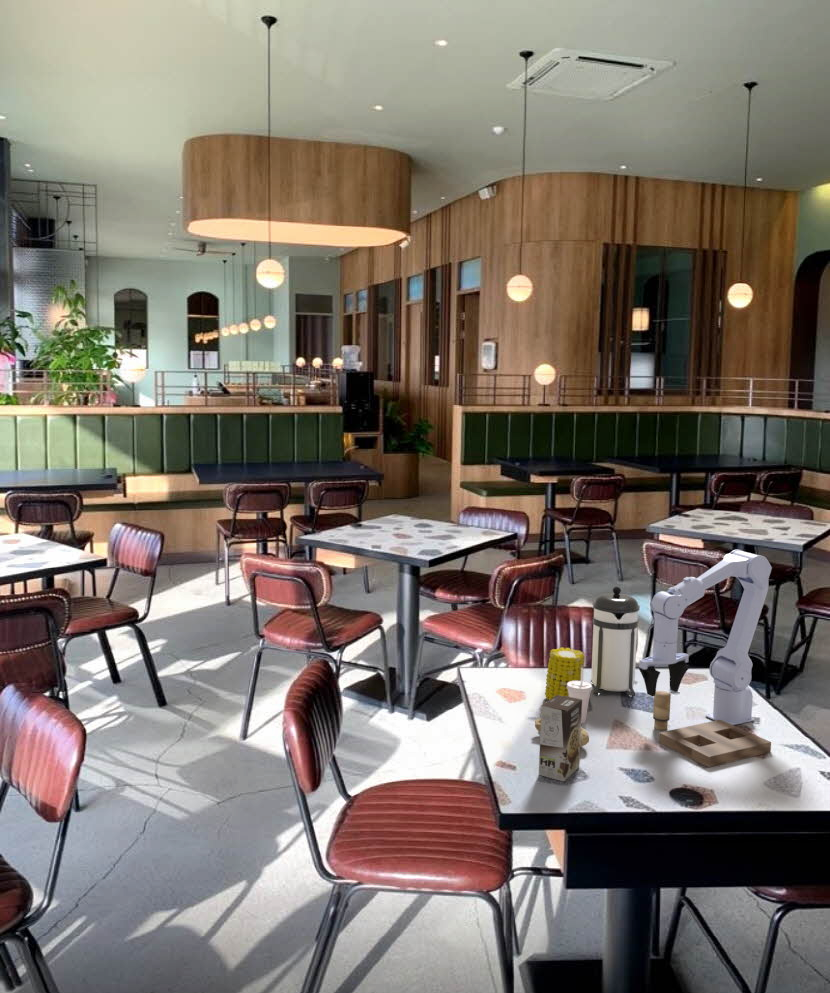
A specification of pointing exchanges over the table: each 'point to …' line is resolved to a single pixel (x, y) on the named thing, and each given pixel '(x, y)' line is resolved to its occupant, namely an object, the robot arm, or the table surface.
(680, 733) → the walnut board
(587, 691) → the smoothie
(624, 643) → the coffee press
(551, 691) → the food
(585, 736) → the oil lamp
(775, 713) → the table surface
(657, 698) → the oak peg
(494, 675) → the table surface
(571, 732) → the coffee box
